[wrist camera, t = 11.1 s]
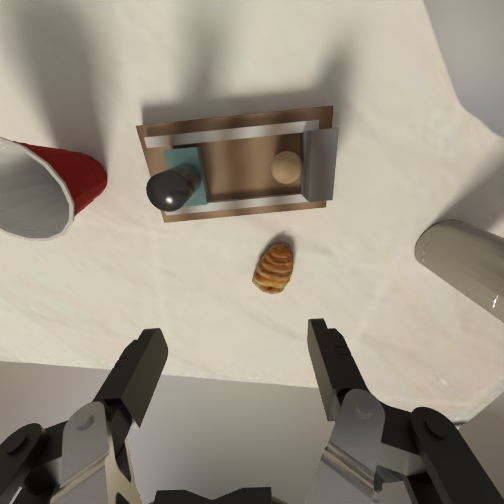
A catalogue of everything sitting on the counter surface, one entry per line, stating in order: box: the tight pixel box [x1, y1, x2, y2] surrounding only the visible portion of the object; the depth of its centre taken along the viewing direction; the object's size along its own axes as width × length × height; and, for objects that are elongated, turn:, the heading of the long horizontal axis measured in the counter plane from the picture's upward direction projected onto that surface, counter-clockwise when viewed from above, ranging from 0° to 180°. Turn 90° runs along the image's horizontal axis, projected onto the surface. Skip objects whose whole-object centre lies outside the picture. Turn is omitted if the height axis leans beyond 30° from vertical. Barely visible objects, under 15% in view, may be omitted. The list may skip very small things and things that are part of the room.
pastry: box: [252, 243, 293, 294], centre depth 38 cm, size 9×7×4 cm
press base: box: [136, 106, 339, 223], centre depth 29 cm, size 25×13×7 cm, turn 95°
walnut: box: [271, 151, 302, 184], centre depth 28 cm, size 4×4×4 cm
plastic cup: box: [0, 137, 107, 241], centre depth 26 cm, size 11×11×12 cm
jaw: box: [146, 146, 210, 212], centre depth 25 cm, size 4×7×11 cm, turn 5°
